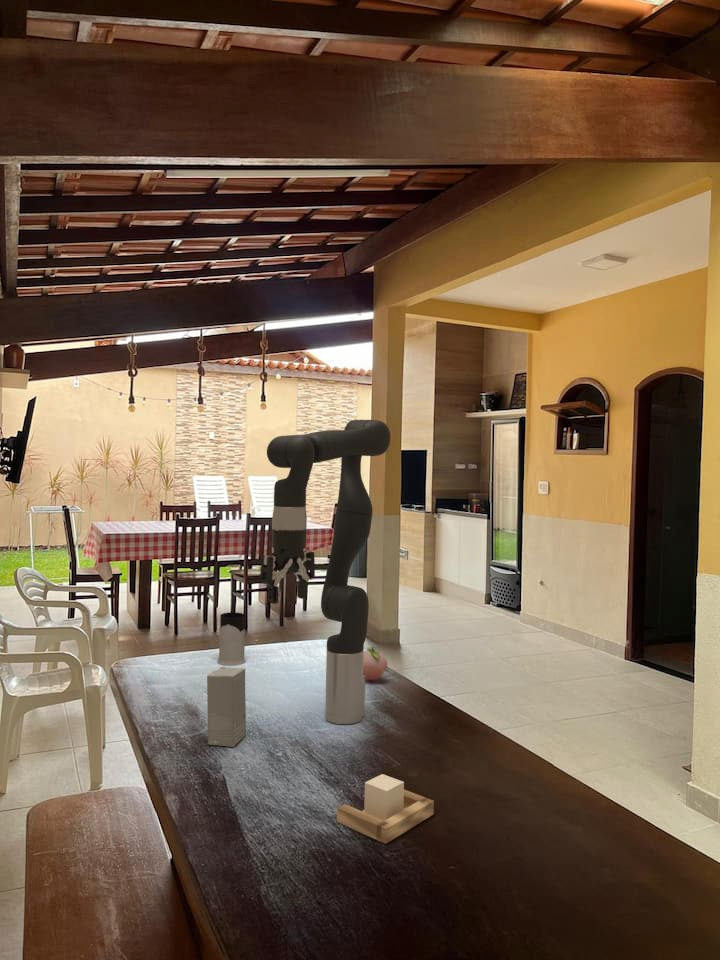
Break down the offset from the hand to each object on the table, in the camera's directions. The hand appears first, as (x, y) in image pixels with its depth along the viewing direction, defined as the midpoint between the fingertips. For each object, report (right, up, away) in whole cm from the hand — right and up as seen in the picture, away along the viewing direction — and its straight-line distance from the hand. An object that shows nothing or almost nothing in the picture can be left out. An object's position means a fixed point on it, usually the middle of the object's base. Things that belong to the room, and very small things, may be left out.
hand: (287, 600), depth 159 cm
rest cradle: (+21, -34, -29) cm, 50 cm away
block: (+20, -34, -29) cm, 49 cm away
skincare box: (-15, -33, +6) cm, 36 cm away
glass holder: (-24, -31, +73) cm, 83 cm away
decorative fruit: (+19, -33, +53) cm, 65 cm away
